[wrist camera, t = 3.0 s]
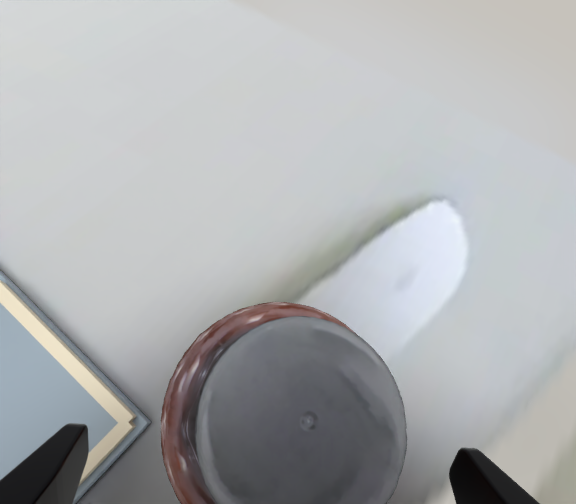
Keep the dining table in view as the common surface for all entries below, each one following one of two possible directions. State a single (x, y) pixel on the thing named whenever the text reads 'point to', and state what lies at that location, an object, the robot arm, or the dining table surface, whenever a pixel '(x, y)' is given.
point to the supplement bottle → (282, 413)
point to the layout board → (55, 391)
